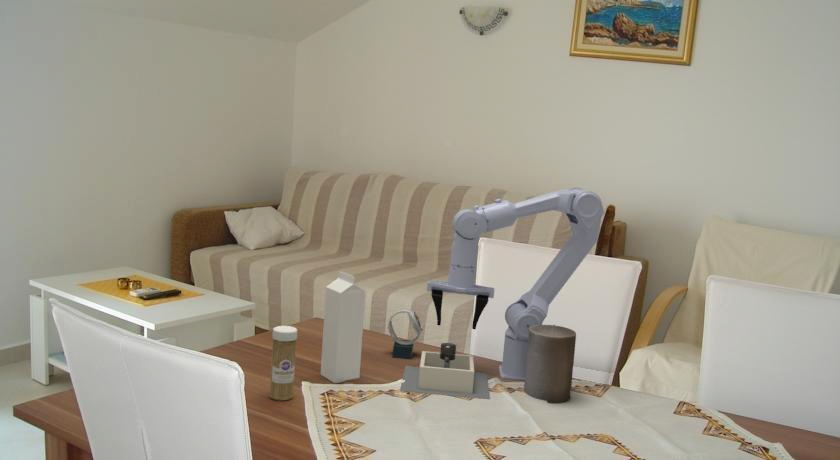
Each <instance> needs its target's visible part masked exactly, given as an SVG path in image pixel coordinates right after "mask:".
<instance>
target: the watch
mask: <svg viewBox="0 0 840 460" xmlns="http://www.w3.org/2000/svg"><path fill="white" fill-rule="evenodd" d="M403 313H404V314H405V313H406V314H407V316H408V319H409V321H410V324H411V326H412V328H413V330H414V331H415V332H416V333H417V336H416V337H415V338H414V339H412V340H406V339H399V338H398V335H397V334H396V332H395V330H394V327H393V324H392V323H393V322H392V319H393V318H394V317H395V316H396V315H398V314H403ZM387 328H388V332H389V335H390V337H391V338H392V340H393V341H394V342H393V343H394V344H393V345H392V358H393V359H404V360H412V358H413V353H414V345H415V343H416V342H417V341H418V340H419V338H420V337H421V332H424V331H423V330H424V329H423V325H422V323H421V320H420V317H419V316H418V314H417V312H416V311H412V310H411V309H407V308H401V309H398V310H395V312H393V313H392V314H391V316H390V318H389V320H388V324H387Z"/></svg>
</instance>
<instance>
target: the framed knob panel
mask: <svg viewBox="0 0 840 460" xmlns="http://www.w3.org/2000/svg"><path fill="white" fill-rule="evenodd" d="M419 367H420V371H419V383H418V388H421V389H432V390H443V391H454V392H465V393H472V391H473V380H474V372H475V365H474V356H473V355H471V354H462V353H461V354H460V353H456V355H455V360H450V368H444V360H443V359H441V358H440V351H439V352H438V351H425V350H421V358H420V364H419Z"/></svg>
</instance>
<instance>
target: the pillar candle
mask: <svg viewBox="0 0 840 460" xmlns="http://www.w3.org/2000/svg"><path fill="white" fill-rule="evenodd" d="M576 340H577V333H576V331H574V330H573V329H570V328H568V327H565V326H561V325H555V324H542V325H534V326H531V327H530V328H529V338H528V350H527V361H526V372H525V380H524V387H523V392H524V393H525V394H526V395H528V396H529V397H532V398H534V399H537V400H540V401H541V400H542V401H546V402H547V403H562V402H567V401H569V400H570V399H571V391H572V389H571V388H572V383H573V371H574V362H575V351H576V342H577V341H576Z"/></svg>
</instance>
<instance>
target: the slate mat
mask: <svg viewBox="0 0 840 460" xmlns="http://www.w3.org/2000/svg"><path fill="white" fill-rule="evenodd" d="M419 371H420V366H411V365H405V366H404V370H403V374H402V375H403V376H402V380H405V382H404V383H402V382H401V385H400V389H399V392H405V393H416V394H418V393H419V394H428V395H437V396H438V395H439V396H447V397H448V396H450V397H459V398H470V399H481V400H483V399H484V400H491V395H490V387H489V381H488V374H487V372H477V371H476V372H475V371H474V380H473V391H472V393H465V392H454V391H443V390H432V389H421V388H418V383H419ZM402 380H401V381H402Z"/></svg>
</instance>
